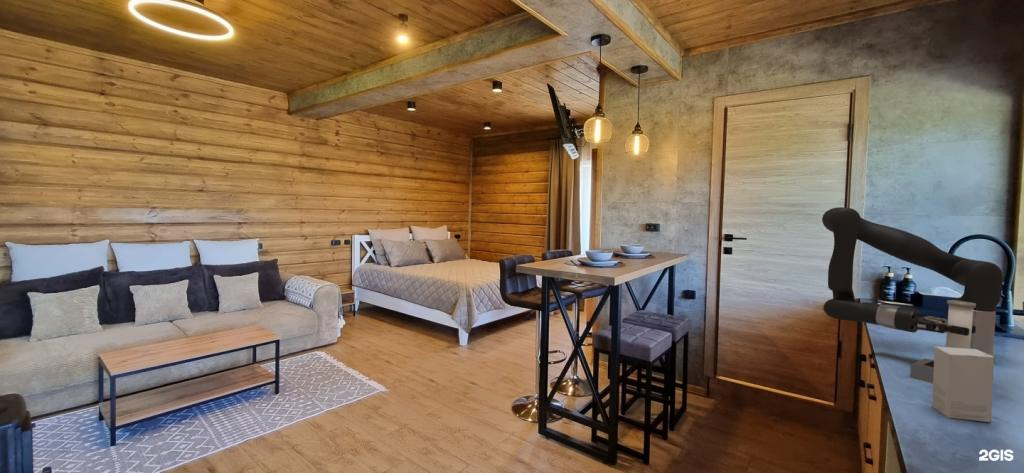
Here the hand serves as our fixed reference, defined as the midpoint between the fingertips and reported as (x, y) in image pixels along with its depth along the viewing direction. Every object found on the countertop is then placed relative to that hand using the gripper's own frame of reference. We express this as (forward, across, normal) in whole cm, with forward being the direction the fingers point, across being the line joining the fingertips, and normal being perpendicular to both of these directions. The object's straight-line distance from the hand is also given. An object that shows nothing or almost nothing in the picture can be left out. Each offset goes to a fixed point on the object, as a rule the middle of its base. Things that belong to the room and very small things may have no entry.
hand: (971, 330), depth 124 cm
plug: (-3, 0, +10) cm, 10 cm away
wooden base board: (-2, -6, +14) cm, 16 cm away
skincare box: (+7, -35, +15) cm, 38 cm away
